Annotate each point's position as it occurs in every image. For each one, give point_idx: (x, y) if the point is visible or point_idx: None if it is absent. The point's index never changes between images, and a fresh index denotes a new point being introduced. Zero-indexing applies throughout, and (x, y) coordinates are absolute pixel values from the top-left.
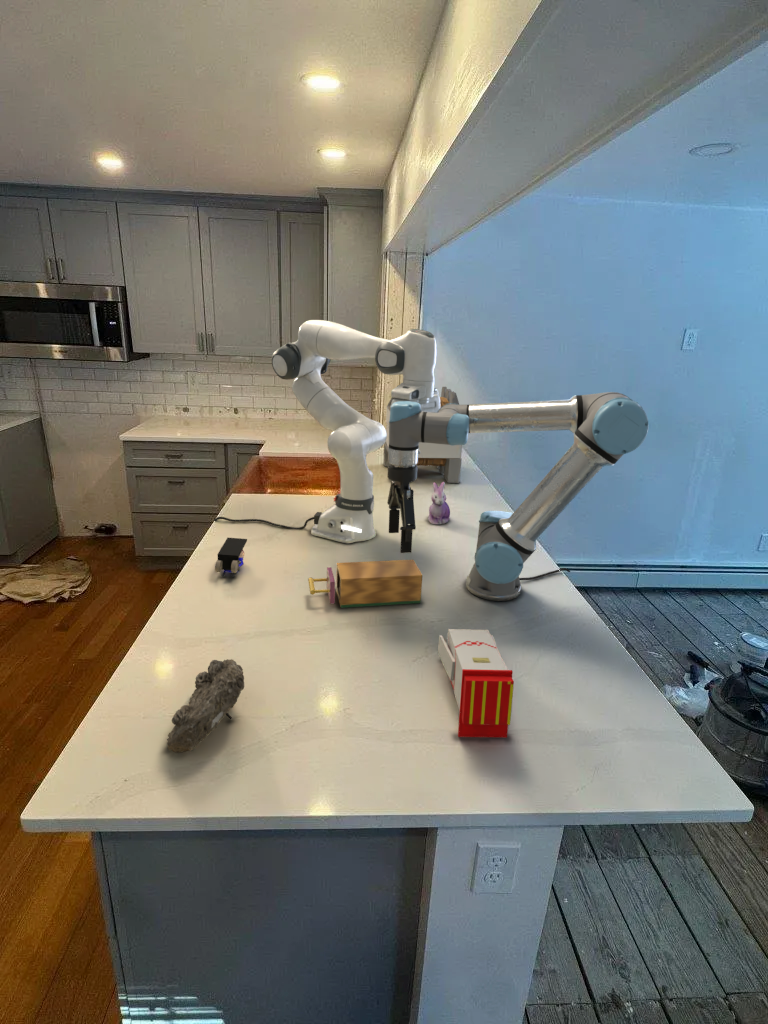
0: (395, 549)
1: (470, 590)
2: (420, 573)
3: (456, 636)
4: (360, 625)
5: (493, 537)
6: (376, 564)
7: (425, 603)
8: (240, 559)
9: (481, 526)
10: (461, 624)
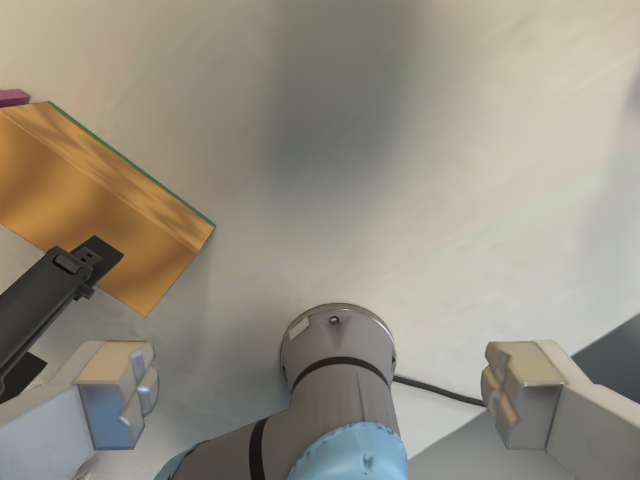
0: (370, 47)
1: (287, 331)
2: (147, 309)
3: None
4: (5, 248)
5: None
6: (89, 201)
7: (177, 289)
8: None
9: (293, 455)
10: (169, 372)
